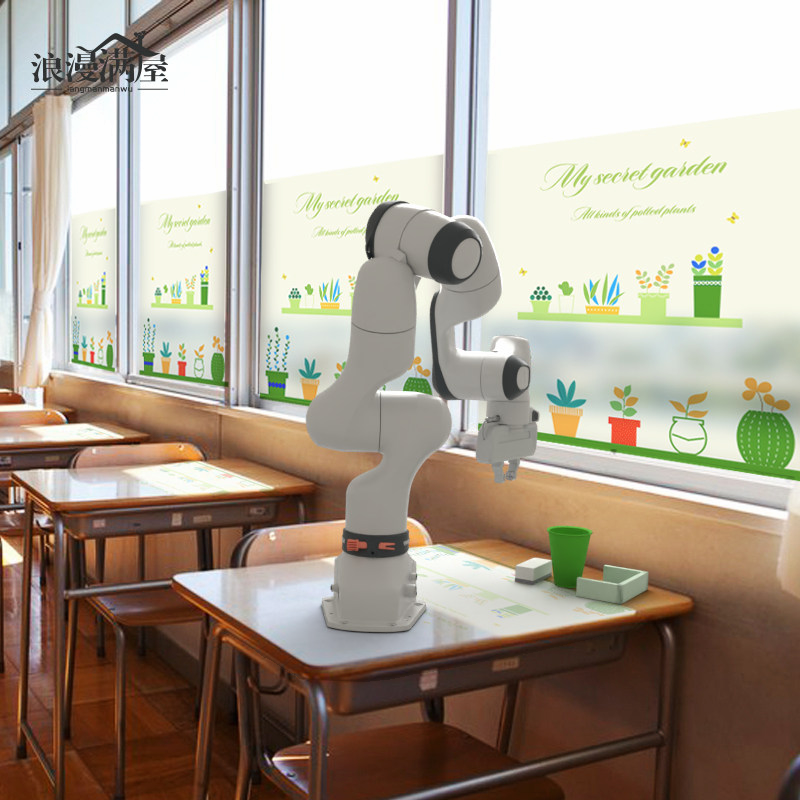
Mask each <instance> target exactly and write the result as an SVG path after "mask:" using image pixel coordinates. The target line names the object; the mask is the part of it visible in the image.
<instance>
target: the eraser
mask: <svg viewBox="0 0 800 800" xmlns="http://www.w3.org/2000/svg"><path fill="white" fill-rule="evenodd" d="M514 571H515V572H514V582H515V583H522V584H526V585H536V584H537V583H540V582H542V581H543V580H546V579H548V578H550V577H552V575H553V568H552V559H547V558H541V557H532V558H530V559H528V560H525V561H523V562H520V563H518V564H516V565H515V570H514Z"/></svg>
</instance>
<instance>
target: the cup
mask: <svg viewBox="0 0 800 800" xmlns="http://www.w3.org/2000/svg"><path fill="white" fill-rule="evenodd" d="M546 532H548V540H549V549H550V558H551V559H550V560H552V575H553V582H554V585H555V586H557V587H559V588H560V587H561V588H569V589H571V588H573V589H574V588H577V578H578V577H582V578H583V573H584V569H585V564H586V560H587V554H588V549H589V546H590V545H589V544H590V539H591V536H592V534H593V530H591V529H590V528H586V527H580V526H574V525H573V526H572V525H553V526H549V527H547V529H546Z"/></svg>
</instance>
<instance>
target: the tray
mask: <svg viewBox="0 0 800 800" xmlns="http://www.w3.org/2000/svg"><path fill="white" fill-rule="evenodd" d="M648 587H649V571H645V570H640V569H633V568H628V567H627V568H626V567H622V566H621V567H620V566H614V565H609V564H604V565H603V573H602V580H598V579H592V578H586V577H583V576H582V577H578V578H577V587H576V592H575V593H576V594H575V597H578V598H579V597H580V598H583V599H584V598H585V599H590V600H597V601H600V602H601V601H603V602H606V603H607V602H608V603H611V604H617V605H623V604H624V603H626V602H628V601H629V600H631V599H633V598H634V597H636V596H638V595H640V594H642V593H643V592H646V591H647V590H648Z"/></svg>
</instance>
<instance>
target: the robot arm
mask: <svg viewBox="0 0 800 800" xmlns="http://www.w3.org/2000/svg"><path fill="white" fill-rule="evenodd" d="M364 236H365V237H364V238H365V241H364V242H365V246H364V249H365V254H366V258H367V259H368V260H365V262H364V263H363V264H362V265H361V266H360V268H359V270H358V273H357V276H356V281H355V286H354V291H353V294H352V295H353V297H352V303H351V304H352V305H351V315H350V316H351V317H350V319H351V320H350V334H349V335H350V338H349V347H348V355H347V360H346V362H345V365H344V368H343V370H342V372H341V373H340V375H339V376H338V377H337V379H336V380H335V381H334V382H333V383H332V384H331V385H330V386H328V387H327V388H326V389H325V390H323V391H322V392H319V393H318V394H317V395H315V397H314V398H313V399H312V401H311V402H310V403H309V406H308V407H307V410H306V414H305V427H306V431H307V433H308V436H309V438H310V440H312V442H313V444H315V446H317V447H319V448H323V449H328V450H331V451H337V452H343V453H345V452H347V453H378V454H381V455H382V458H381V461H380V463H379V464H378V465H377V466H375V467H373V468H372V469H369V470H367V471H366V472H363V473H361V474H359V475H357V476H356V477H355V478H353V479H352V480H351V481H350V482H349V484H348V485H347V488H346V492H345V522H344V523H345V524H344V527H343V529H342V535H341V550H342V552H341V553H340V554H339V555H337V556H336V557H335V558H334V565H333V567H334V568H333V569H334V570H333V571H334V572H333V583H331V585H330V591H331V592H333V595H332V596H325V597H323V598H322V599H321V603H320V604H321V609H322V612H323V615H324V619H325V623H326V626H327V627H328V628H333V629H336V630H344V631H349V632H350V631H352V632H365V633H369V632H370V633H396V632H404V631H409V630H411V628H412V627H413V626H414V625H415V623H417V621H418V620H419V619H420V617H421V616H422V615H423V613H424V612H425V611H426V610H427V602H426V601H422V600H420V599H417V594H418V591H417V589H418V588H417V587H418V586H417V580H418V573H417V562H416V561H415V559H413V558H412V557H411V555H410V554H409V552H408V551H409V550H410V539H411V538H410V531H409V529H408V511H409V501H410V493H411V489H412V488H411V487H412V484H413V482H414V479H415V477H416V474H417V473H418V471H419V470H420V468H421V467H422V466H423V464H424V463H425V461H427V460H428V459H429V458H430V457H431V456H432V455H433V454H435V453H436V452H437V451H439V450H440V449H441V448H442V447H443V446H444V445H445V444H446V442H447V441H448V439H449V438H450V435H451V431H452V427H453V426H452V425H453V419H452V414H451V411H450V408H449V406H448V404H447V403H446V402H445V401H464V400H465V401H466V400H467V401H484V402H486V411H485V412H486V413H485V415H486V416H485V418H484V421H483V422H482V423H481V426H480V427H479V429H478V431H477V438H476V448H475V459H476V462H477V463H478V464H486V465H491V469H492V472H493V475H494V480H493V481H494V483H495V484H504V483H505V482H506V481H510V482H512V481H516V480H517V476H518V475H517V473H518V470H519V467H520V465H521V459H522V458H527V457H531V456H534V454H535V452H536V450H537V446H538V445H537V443H538V422H539V421H540V412H539V411H538V410H537V409H536V408H533V407H532V406H531V398H530V393H529V389H530V388H529V387H530V384H531V381H532V354H531V346H530V341H529V339H527V338H525V337H523V336H521V335H514V334H499V335H496V336H493V337H492V339H491V342H490V343H491V344H490V350H489V351H470V350H469V351H467V350H463V349H460V348H458V347H456V332H455V329H456V328H455V327H456V326H458V325H461V324H462V323H466V322H470V321H474V320H478V319H479V318H481V317H483V316H485V315H486V314H488V313H489V312H491V310H493V308H494V307H495V306H496V305H497V303H499V301H500V298H501V296H502V293H503V277H502V276H503V275H502V271H501V268H500V267H501V266H500V262H499V259H498V255H497V252H496V249H495V246H494V243H493V242H492V239H491V237H490V234H489V232H488V230H487V229H486V227H485V225H484V223H483V221H481V220H479V218H477V217H475V216H471V215H466V214H462V215H455V216H452V217H449V216H447V215H444V214H443V213H440V212H438V211H436V210H435V209H432V208H429V207H425V206H421V205H417V204H411V203H409V202H407V201H403V200H387V201H386V200H385V201H383V202H381V203H380V204H378V205H377V206H376V207H375V208H374V209H373V211H372V213H371V214H370V216H369V217H368V220H367V223H366V227H365V235H364ZM422 278H425V279H429V280H432V281H434V282H436V283H438V284H440V289H438V290H437V291H435V292H434V293H433V296H432V298H431V302H430V306H429V330H430V332H429V333H430V344H431V356H432V357H431V358H432V368H431V369H432V370H431V383H432V387H433V389H434V390H435V392H436V393H437V394H438V396H437V395H433V394H428V393H424V392H420V391H419V392H417V391H399V390H396V391H395V390H380V389H381V388H382V387H383V386H385V385H387V383H390V382H392V381H394V380H397V379H399V378H401V377H402V376H403V375H405V374H406V373H407V372H408V371H409V370H410V368H411V367H412V365H413V363H414V362H415V361H414V359H415V351H416V350H415V349H416V347H415V346H416V333H417V332H416V331H417V327H416V326H417V310H418V309H417V288H418V287H419V283H420V282H421V280H422ZM506 461H507V463H508V466H507V471H505V473H504V468H503V467H505V462H506Z"/></svg>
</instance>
